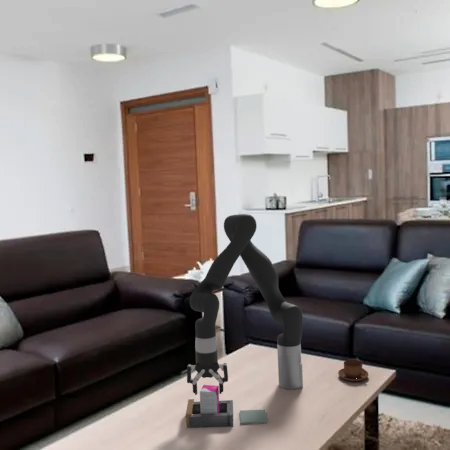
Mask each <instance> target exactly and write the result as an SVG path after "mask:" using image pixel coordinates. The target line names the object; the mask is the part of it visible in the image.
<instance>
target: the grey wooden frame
mask: <svg viewBox="0 0 450 450" xmlns="http://www.w3.org/2000/svg"><path fill="white" fill-rule="evenodd" d="M185 425H186V429H205V428H206V429H207V428H227V427H231V428H232V427H234V401H233V400H232V399H230V400H226V399H225V400H219V413H210V414H201V412H200V401H195V399H194V398H192V399H190V398H189V399H188V400H187V406H186V410H185Z"/></svg>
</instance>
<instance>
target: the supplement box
mask: <svg viewBox="0 0 450 450" xmlns="http://www.w3.org/2000/svg"><path fill="white" fill-rule="evenodd" d="M219 401H220V394H219V385H212V384H211V385H210V384H203V386H202V387H201V388H200V390H199V402H200V412H201V414H210V413H219Z"/></svg>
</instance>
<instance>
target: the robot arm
mask: <svg viewBox="0 0 450 450" xmlns="http://www.w3.org/2000/svg"><path fill="white" fill-rule="evenodd" d="M256 230H257V221H256V219H255V217H254V216H252V214H248V213H239V214H233V215H228V216H227V217H226V218H225V219H224V222H223V231H224V233H225V235H226V237H227V238H228V240H229V244H228V245H226V247H225V248H224V249H223V250H222V252H220V254H218V256H216V258H215V259H214V260H213V262H212V263H211V265H210V267H209V269H208V271H207V273H206V275H205V277H204V279H203V280H202V281H201V282H199V284H198V285H197V286H196V287H195V289H194V290H193V291H192V293H191V295H190V298H189V306H190V308H191V309H192V310H193V311H195V312H200V313H203V317H200V318H198V319H196V321H195V326H194V328H195V343H194V344H195V346H194V348H195V349H194V350H195V364H194V365H193V364H191V363H188V364H187V368H186V382H187V384H192V393H193V394H194V395H195V396H197V395H198V382H199V380H200V379H201V378H202V379H205V378H206V379H207V378H210V379H211V378H214V379H215V380H216V381H217V382H218V386H219V395H221V394H222V393H224V383H228V382H229V373H228V371H229V370H228V364H227V362H224V363H223V364H219V361H218V360H219V358H218V340H217V332H216V331H217V330H216V329H217V328H216V324H217V319H218V314H219V309H220V301H219V298H218V295H217V294H216V293H213V292H215V291H220V290H221V289H222V288H223V287H224V285H225V283H226V281H227V279H228V277H229V274H230V273H231V271H232V269H233V267H234V265H235V264H236V262H237V260H238V259H239V257H240V258H241V259H242V261H243V263H244V265H245V266H246V268H247V270H248V272H249V274H250V276H251V277H252V279H253V282H254V283H255V284H256V286H257V288H258V290H259V291H260V293H261V295H262V297H263V299H264V301H265V303H266V305H267V307H268V310H269V313H270V314H271V315H270V316H272V317H271V318H272V319H273V320H274V322H275V323H276V324H278V325H280V326H282V328H283V329H282V333H280V334H278V335H277V337H276V343H277V347H276V349H277V371H278V386H279V387H280V388H281V389H285V390H296V389H299V388H303V387H304V384H303V383H304V380H303V379H304V378H303V375H304V374H303V363H302V346H301V345H302V344H301V342H302V337H303V325H304V324H303V321H304V320H303V312H302V310H301V308H300V307H299V306H298V305H296V304H293V303H289V302H288V301H286V299H285V298H284V296H283V295H282V292H281V291H280V288H279V275H278V273H277V270H276V268H275V265H273V263H272V260H271V259H270V258H269V257H268V256H267V255H266V254H265V253H264V252H263V251H262V250H261V249H259V248H258V247H257V246H256V245H255V244H254V243H253V242H252V241H251V240H252V238H253V237H254V235H255V234H256ZM194 370H195V371H196V372H197V373H196V375H195V376H194V377H193V378H192V373H193V371H194ZM219 370H221V371H222V372H223V377H222V375H221V374H220V373H219V372H218V371H219Z"/></svg>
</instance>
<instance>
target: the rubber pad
mask: <svg viewBox="0 0 450 450" xmlns="http://www.w3.org/2000/svg"><path fill="white" fill-rule="evenodd" d="M266 412H267V411H266V409H244V410H239V414H240V415H239V418H240V425H253V424H254V425H258V424H260V425H261V424H267V422H268V421H267V413H266Z"/></svg>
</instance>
